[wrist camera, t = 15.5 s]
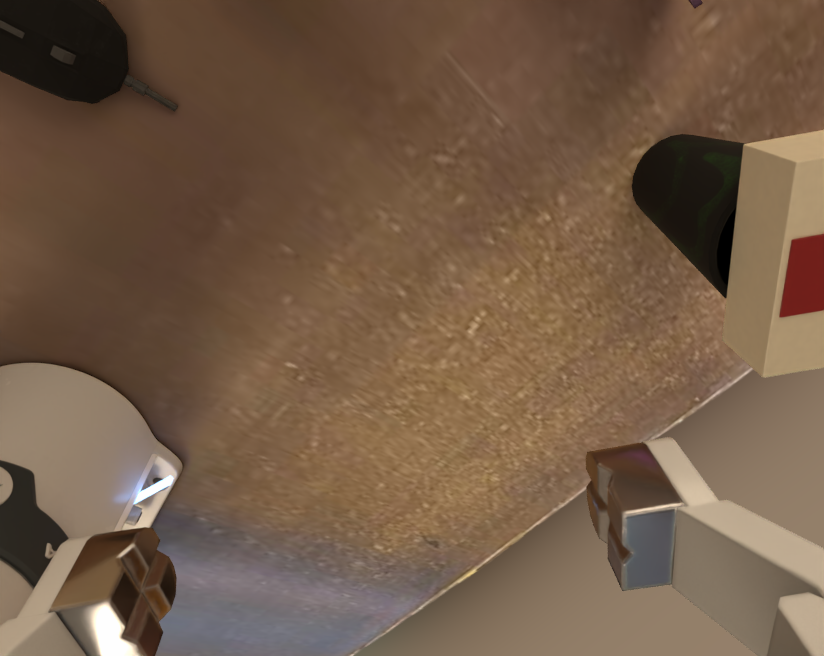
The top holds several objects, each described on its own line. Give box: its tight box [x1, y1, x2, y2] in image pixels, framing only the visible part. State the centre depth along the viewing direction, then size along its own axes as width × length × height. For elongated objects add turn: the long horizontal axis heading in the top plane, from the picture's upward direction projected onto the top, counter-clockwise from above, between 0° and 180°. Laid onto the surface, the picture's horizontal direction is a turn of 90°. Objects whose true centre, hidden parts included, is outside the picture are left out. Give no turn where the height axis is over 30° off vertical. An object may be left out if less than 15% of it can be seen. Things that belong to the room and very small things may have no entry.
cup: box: [632, 134, 744, 298], centre depth 33 cm, size 8×8×12 cm
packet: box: [722, 130, 824, 378], centre depth 26 cm, size 10×6×4 cm, turn 9°
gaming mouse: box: [0, 0, 177, 111], centre depth 30 cm, size 6×15×4 cm, turn 56°
